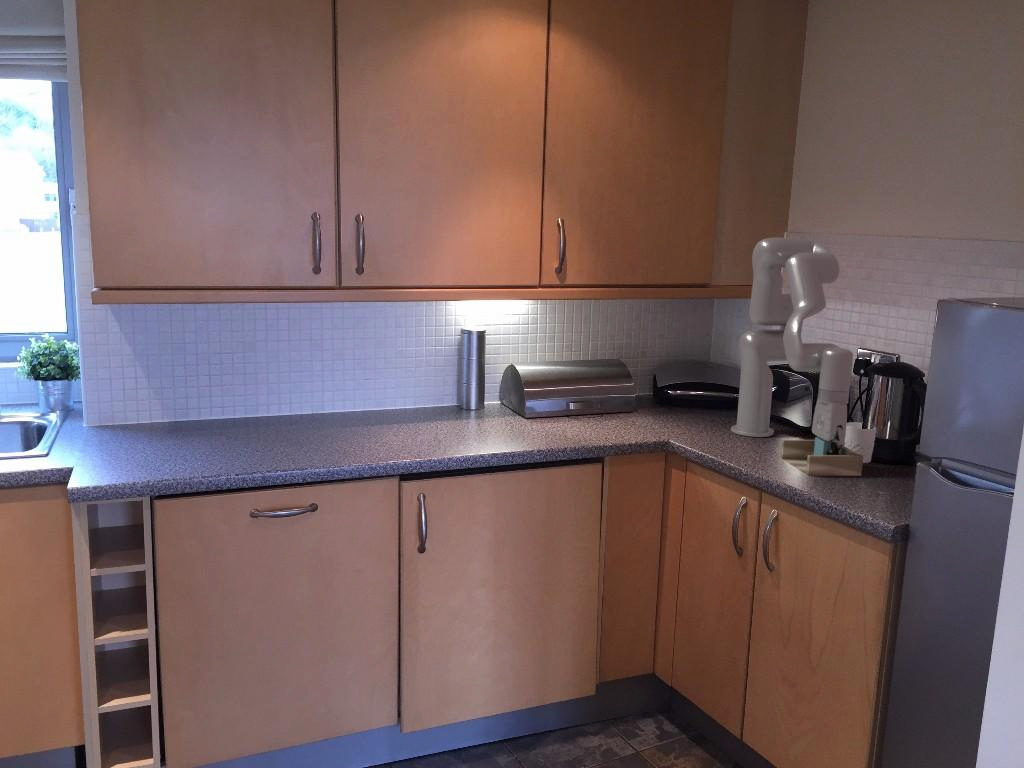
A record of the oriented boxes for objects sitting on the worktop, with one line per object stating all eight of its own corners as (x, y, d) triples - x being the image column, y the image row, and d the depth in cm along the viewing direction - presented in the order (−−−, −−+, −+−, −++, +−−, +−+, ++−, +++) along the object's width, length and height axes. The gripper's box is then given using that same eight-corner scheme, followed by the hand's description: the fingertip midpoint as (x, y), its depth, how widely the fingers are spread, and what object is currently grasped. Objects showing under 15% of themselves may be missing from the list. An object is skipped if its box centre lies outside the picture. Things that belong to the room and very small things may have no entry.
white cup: (865, 457, 242) (869, 422, 240) (877, 465, 234) (881, 429, 232) (837, 457, 242) (840, 421, 240) (848, 465, 234) (852, 428, 232)
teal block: (812, 462, 232) (815, 437, 231) (830, 462, 233) (833, 437, 232) (821, 468, 227) (824, 442, 226) (839, 468, 228) (842, 442, 227)
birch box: (780, 459, 237) (782, 439, 236) (830, 459, 239) (832, 439, 238) (807, 477, 221) (809, 456, 220) (861, 477, 223) (863, 456, 222)
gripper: (805, 389, 234) (798, 454, 238) (835, 402, 218) (827, 473, 221) (831, 389, 235) (824, 454, 239) (863, 403, 219) (855, 473, 222)
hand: (826, 462), depth 230 cm, fingers closed on teal block, 5 cm apart
